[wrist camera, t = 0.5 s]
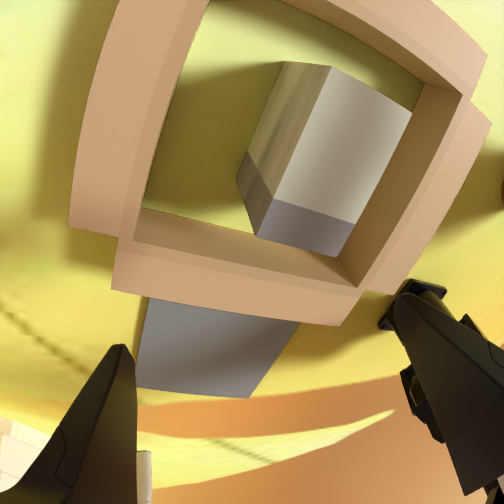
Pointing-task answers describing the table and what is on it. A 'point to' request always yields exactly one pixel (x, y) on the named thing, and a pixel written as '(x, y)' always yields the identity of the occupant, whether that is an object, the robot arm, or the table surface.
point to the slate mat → (207, 349)
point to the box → (317, 156)
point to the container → (17, 450)
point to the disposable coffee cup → (503, 192)
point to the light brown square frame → (247, 245)
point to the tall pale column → (144, 477)
